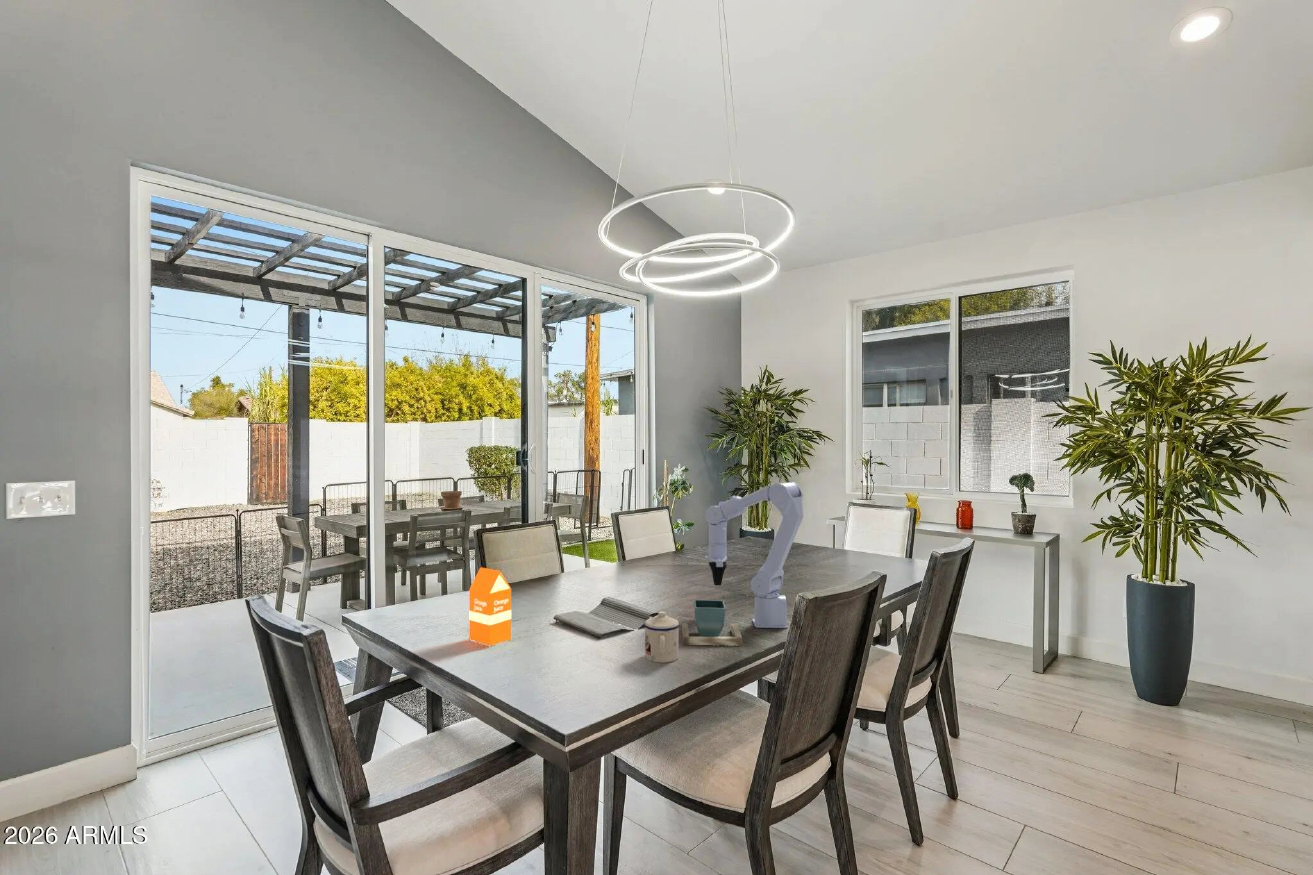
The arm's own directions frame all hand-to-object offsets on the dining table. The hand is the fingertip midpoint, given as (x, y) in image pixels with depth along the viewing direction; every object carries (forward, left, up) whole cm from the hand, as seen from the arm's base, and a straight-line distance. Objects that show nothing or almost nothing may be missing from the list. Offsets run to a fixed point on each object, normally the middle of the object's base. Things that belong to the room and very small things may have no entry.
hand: (717, 584), depth 200 cm
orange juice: (+66, +27, -10) cm, 72 cm away
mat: (+35, +10, -10) cm, 38 cm away
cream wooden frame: (+4, +23, -9) cm, 25 cm away
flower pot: (+4, +21, -10) cm, 23 cm away
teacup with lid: (+18, +41, -10) cm, 46 cm away
